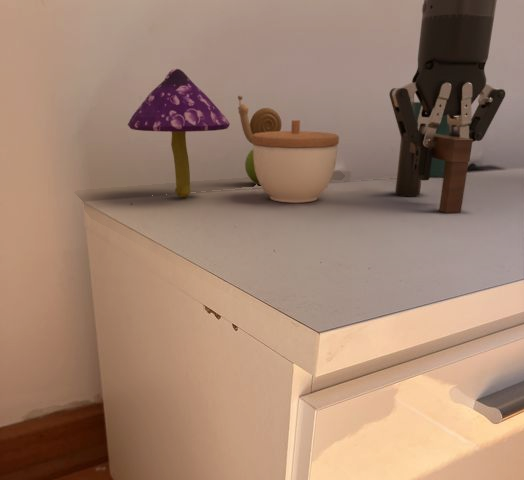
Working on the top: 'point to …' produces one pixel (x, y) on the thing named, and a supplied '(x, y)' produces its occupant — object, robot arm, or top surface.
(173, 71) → the decorative mushroom
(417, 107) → the jar
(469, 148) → the brown wooden arch
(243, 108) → the snail figurine
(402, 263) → the top surface
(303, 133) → the trinket box
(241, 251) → the top surface
